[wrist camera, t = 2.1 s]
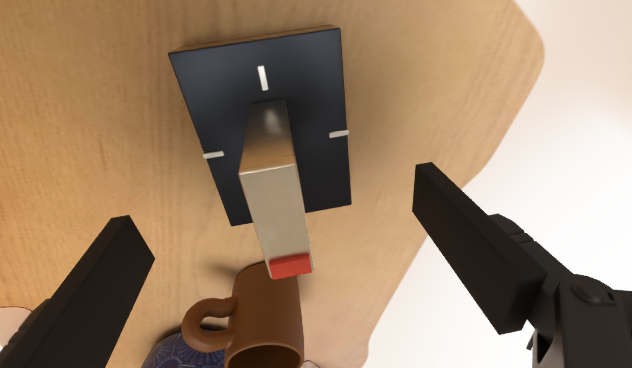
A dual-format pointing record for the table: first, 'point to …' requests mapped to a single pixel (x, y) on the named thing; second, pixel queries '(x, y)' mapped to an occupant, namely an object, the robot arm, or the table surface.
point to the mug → (252, 322)
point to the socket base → (267, 85)
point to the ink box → (309, 365)
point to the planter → (182, 355)
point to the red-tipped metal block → (275, 191)
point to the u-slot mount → (11, 322)
